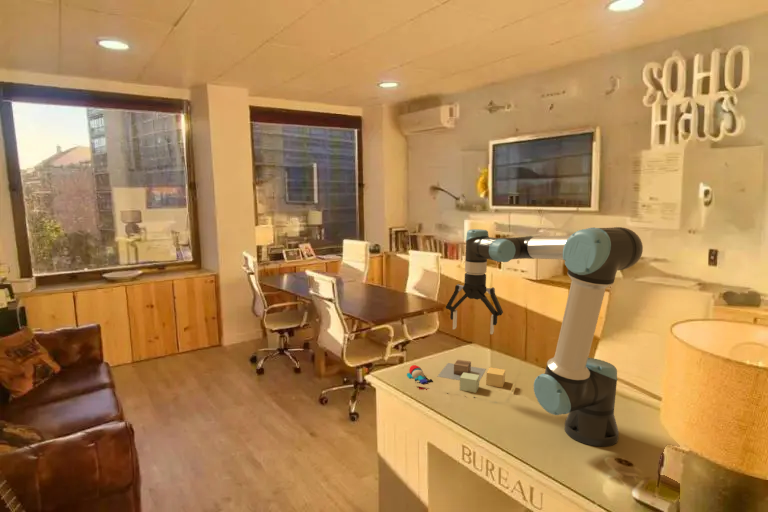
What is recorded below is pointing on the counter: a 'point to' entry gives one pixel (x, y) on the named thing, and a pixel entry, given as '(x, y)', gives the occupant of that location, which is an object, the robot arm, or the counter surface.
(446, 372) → the baseplate
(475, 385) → the sage brick
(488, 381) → the ochre brick
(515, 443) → the counter surface
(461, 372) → the brown brick
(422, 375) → the toy figure
